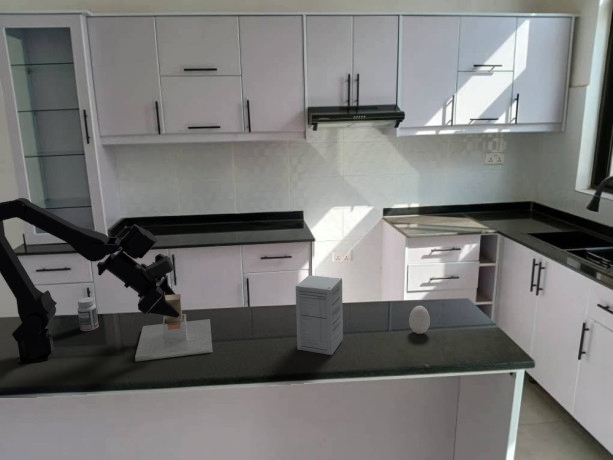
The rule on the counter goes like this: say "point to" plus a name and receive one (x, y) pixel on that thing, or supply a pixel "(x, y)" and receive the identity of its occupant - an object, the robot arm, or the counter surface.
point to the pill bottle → (87, 314)
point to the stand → (174, 339)
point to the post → (176, 303)
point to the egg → (419, 320)
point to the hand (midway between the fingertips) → (179, 309)
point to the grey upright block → (319, 314)
